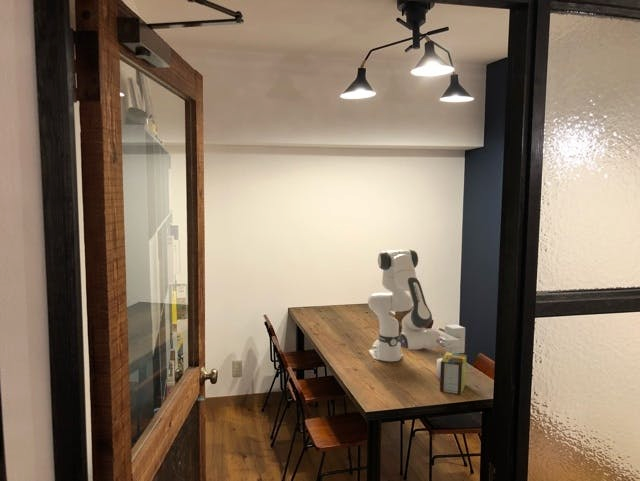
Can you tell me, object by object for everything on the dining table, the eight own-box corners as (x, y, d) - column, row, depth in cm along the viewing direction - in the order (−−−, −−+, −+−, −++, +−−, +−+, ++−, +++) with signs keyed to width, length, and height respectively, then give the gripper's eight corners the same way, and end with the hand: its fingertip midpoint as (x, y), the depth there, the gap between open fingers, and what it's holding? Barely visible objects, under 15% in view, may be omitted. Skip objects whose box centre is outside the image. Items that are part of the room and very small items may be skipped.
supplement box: (464, 352, 239) (466, 327, 238) (451, 354, 237) (452, 328, 236) (456, 348, 246) (457, 324, 245) (443, 349, 244) (444, 325, 243)
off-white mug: (452, 380, 253) (453, 363, 253) (436, 379, 255) (437, 362, 254) (451, 373, 263) (451, 357, 262) (436, 372, 265) (436, 356, 264)
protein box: (465, 384, 249) (466, 354, 247) (461, 395, 235) (462, 364, 233) (444, 380, 253) (445, 351, 251) (439, 391, 239) (440, 360, 237)
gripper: (444, 338, 227) (469, 336, 231) (421, 327, 246) (445, 325, 251) (443, 351, 228) (468, 349, 232) (421, 339, 247) (444, 337, 251)
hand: (456, 336), depth 242 cm, fingers closed on supplement box, 7 cm apart
